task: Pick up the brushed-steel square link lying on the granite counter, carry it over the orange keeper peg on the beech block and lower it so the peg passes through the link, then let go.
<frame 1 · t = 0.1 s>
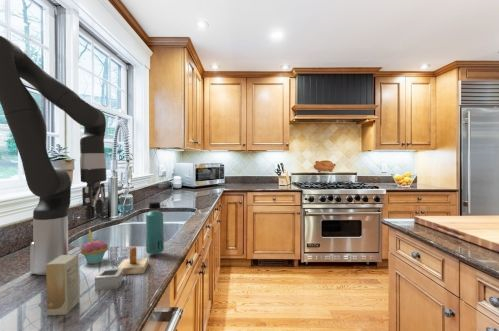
hand: (95, 215, 94), 17 cm above the countertop, tool pointing down, fingers open, 8 cm apart
keeper: (133, 269, 93), on the countertop
cupcake: (94, 261, 100), on the countertop
beverage bottle: (154, 255, 106), on the countertop
link: (109, 284, 81), on the countertop
skincare box: (63, 309, 68), on the countertop
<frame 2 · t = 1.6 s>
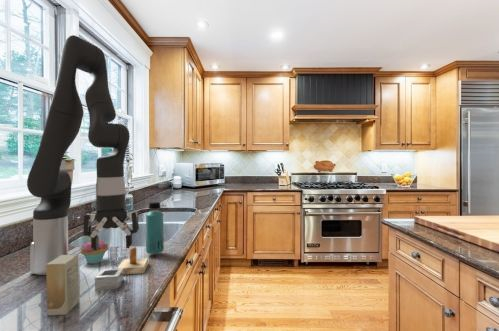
hand: (112, 248, 81), 10 cm above the countertop, tool pointing down, fingers open, 8 cm apart
nothing on the countertop moved.
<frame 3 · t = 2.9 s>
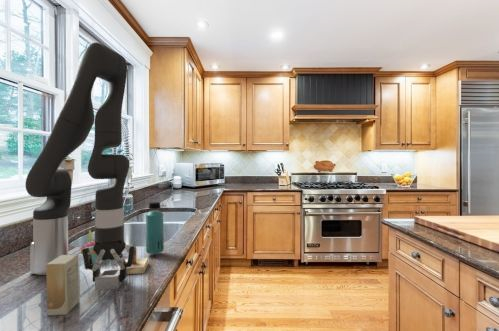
hand: (110, 281, 81), 1 cm above the countertop, tool pointing down, fingers closed on link, 6 cm apart
link: (109, 284, 81), on the countertop, touching gripper
everything else where it was.
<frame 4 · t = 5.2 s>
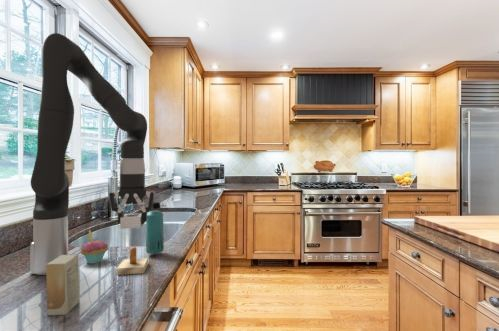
hand: (132, 223, 92), 15 cm above the countertop, tool pointing down, fingers closed on link, 6 cm apart
link: (132, 226, 92), point 14 cm above the countertop, touching gripper
everything else where it was.
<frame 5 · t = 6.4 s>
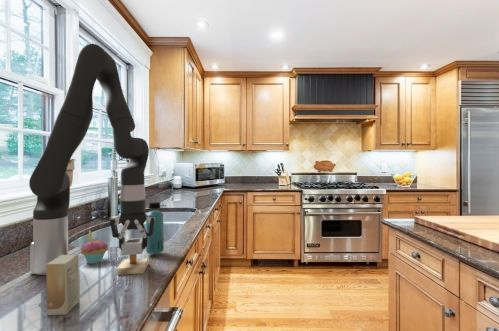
hand: (133, 248, 93), 7 cm above the countertop, tool pointing down, fingers closed on link, 6 cm apart
link: (133, 251, 93), point 6 cm above the countertop, touching gripper
everything else where it was.
when the fingers open (4 cm above the countertop, at t = 7.5 s): link stays where it is, resting on keeper.
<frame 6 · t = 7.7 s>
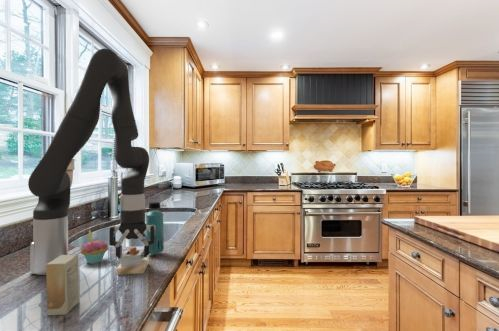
hand: (133, 257, 92), 4 cm above the countertop, tool pointing down, fingers open, 7 cm apart
link: (132, 263, 92), point 2 cm above the countertop, touching keeper
everything else where it was.
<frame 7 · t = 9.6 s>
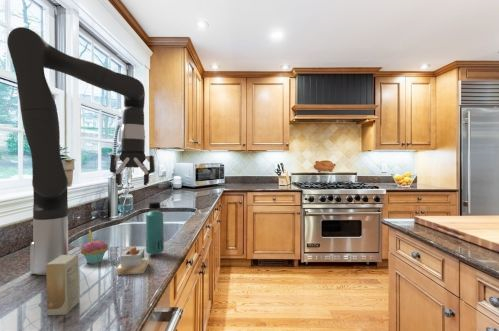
hand: (132, 185, 98), 27 cm above the countertop, tool pointing down, fingers open, 8 cm apart
nothing on the countertop moved.
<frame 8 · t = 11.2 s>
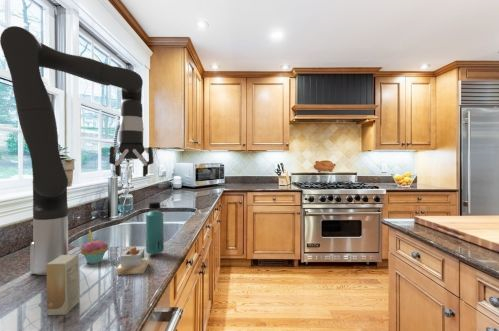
hand: (131, 176, 99), 30 cm above the countertop, tool pointing down, fingers open, 8 cm apart
nothing on the countertop moved.
at the end: link 0.1 cm off-centre on the keeper, point 2.0 cm above the keeper's base; the gripper is holding nothing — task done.
